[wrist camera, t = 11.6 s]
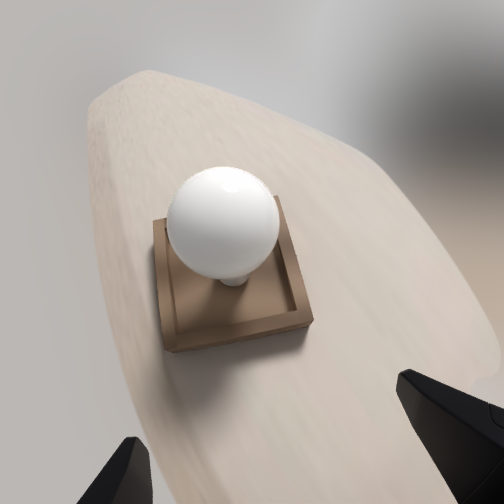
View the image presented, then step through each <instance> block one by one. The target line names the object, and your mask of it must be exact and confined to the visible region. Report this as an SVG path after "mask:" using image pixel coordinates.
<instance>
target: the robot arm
mask: <svg viewBox="0 0 504 504" xmlns="http://www.w3.org/2000/svg"><path fill="white" fill-rule="evenodd" d="M396 392H397V395H398V397H399V399H400V401H401V403H402V405H403V408H404V410H405V412H406V414H407V416H408V418H409V421H410V423H411V425H412V427H413V428H414V430H415V432H416V433H417V435H418V437H419V438H420V440H421V441H422V443H423V445H424V446H425V448H426V450H427V451H428V453H429V455H430V456H431V458H432V460H433V461H434V463H435V465H436V466H437V468H438V470H439V471H440V473H441V475H442V476H443V478H444V480H445V481H446V483H447V485H448V487H449V488H450V490H451V492H452V494H453V495H454V497H455V499H456V501H457V502H458V504H504V409H503V408H501V407H498V406H495V405H493V404H490V403H489V404H488V402H485V401H483V400H480V399H478V398H476V397H473V396H471V395H469V394H466V393H464V392H462V391H459V390H457V389H455V388H452V387H450V386H448V385H445V384H443V383H441V382H439V381H436V380H434V379H432V378H430V377H427V376H425V375H423V374H421V373H418V372H416V371H414V370H412V369H407V370H404V371H402V372H400V373H399V374H398V380H397V386H396ZM77 504H153V490H152V480H151V470H150V459H149V452H148V450H147V448H146V447H145V446H144V444H143V443H142V442H141V440H140V439H139V438H138V437H126V438H125V439H124V440H123V442H122V443H121V445H120V446H119V447H118V449H117V450H116V451H115V453H114V454H113V455H112V457H111V458H110V459H109V461H108V462H107V463H106V465H105V466H104V467H103V469H102V470H101V472H100V473H99V474H98V476H97V477H96V478H95V480H94V481H93V482H92V484H91V485H90V486H89V488H88V489H87V490H86V492H85V493H84V495H83V496H82V497H81V498H80V500H79V501H78V502H77Z"/></svg>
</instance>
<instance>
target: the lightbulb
mask: <svg viewBox="0 0 504 504" xmlns="http://www.w3.org/2000/svg"><path fill="white" fill-rule="evenodd" d="M279 227H280V218H279V211H278V207H277V204H276V201H275V199H274V197H273V195H272V194H271V192H270V190H269V189H268V188H267V187H266V185H265V184H264V183H263V182H262V181H261V180H259V179H258V178H257V177H255V176H254V175H252V174H251V173H249V172H247V171H244V170H241V169H238V168H234V167H213V168H209V169H205V170H203V171H200V172H198V173H196V174H194V175H193V176H191V177H190V178H189V179H187V180H186V181H185V182H184V183H183V184H182V185H181V186H180V187H179V189H178V190H177V191H176V193H175V195H174V196H173V198H172V200H171V203H170V206H169V209H168V214H167V233H168V238H169V241H170V244H171V246H172V248H173V250H174V252H175V254H176V255H177V257H178V258H179V259H180V260H181V261H182V262H183V263H184V264H185V265H186V266H187V267H188V268H189V269H191V270H192V271H194V272H196V273H197V274H200V275H202V276H205V277H208V278H212V279H219V280H220V281H221V282H222V283H224V284H225V285H228V286H239V285H242V284H243V283H245V282H246V281H247V280H248V278H249V277H250V274H251V272H252V271H254V270H255V269H257V268H258V267H259V266H260V265H261V264H263V262H264V261H265V260H266V259H267V258H268V257H269V255H270V254H271V252H272V250H273V249H274V246H275V244H276V241H277V238H278V234H279Z"/></svg>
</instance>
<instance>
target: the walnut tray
mask: <svg viewBox="0 0 504 504" xmlns="http://www.w3.org/2000/svg"><path fill="white" fill-rule="evenodd" d="M273 197H274V199H275V201H276V204H277V207H278V211H279V218H280V227H279V234H278V238H277V241H276V244H275V246H274V249H273V250H272V252H271V254H270V255H269V257H268V258H267V259H266V260H265V261H264V262H263V264H261V265H260V266H259V267H258V268H257V269H255V270H254V271H252V272H251V274H250V277H249V278H248V280H247V281H246V282H245V283H243V284H242V285H239V286H228V285H225V284H224V283H222V282H221V281H220V280H219V279H212V278H208V277H205V276H202V275H200V274H197V273H196V272H194V271H192V270H191V269H189V268H188V267H187V266H186V265H185V264H184V263H183V262H182V261H181V260H180V259H179V258H178V257H177V255H176V254H175V252H174V250H173V248H172V246H171V244H170V241H169V238H168V233H167V218H163V219H159V220H154V221H153V235H154V252H155V267H156V279H157V290H158V300H159V310H160V319H161V327H162V335H163V343H164V349H165V350H167V351H170V352H172V353H175V352H181V351H188V350H194V349H200V348H206V347H212V346H217V345H223V344H228V343H233V342H239V341H244V340H249V339H254V338H258V337H263V336H268V335H272V334H277V333H281V332H286V331H290V330H294V329H298V328H303V327H307V326H310V324H311V323H312V322H313V320H314V318H313V315H312V311H311V307H310V303H309V300H308V296H307V293H306V289H305V285H304V282H303V278H302V275H301V271H300V268H299V264H298V261H297V257H296V254H295V250H294V247H293V244H292V240H291V237H290V234H289V230H288V227H287V224H286V220H285V217H284V214H283V210H282V207H281V204H280V201H279V198H278V196H273Z"/></svg>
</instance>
